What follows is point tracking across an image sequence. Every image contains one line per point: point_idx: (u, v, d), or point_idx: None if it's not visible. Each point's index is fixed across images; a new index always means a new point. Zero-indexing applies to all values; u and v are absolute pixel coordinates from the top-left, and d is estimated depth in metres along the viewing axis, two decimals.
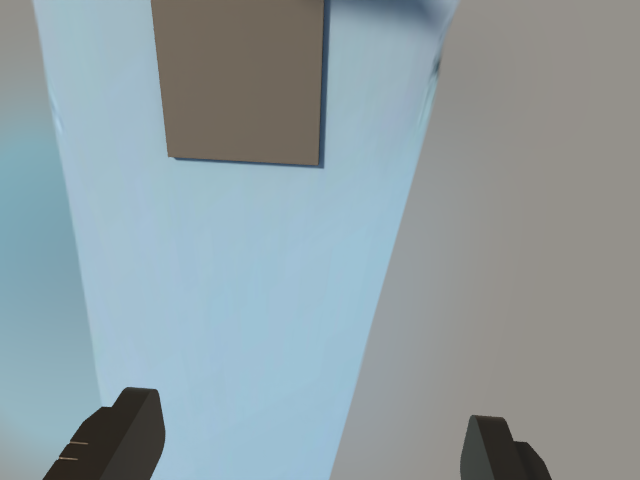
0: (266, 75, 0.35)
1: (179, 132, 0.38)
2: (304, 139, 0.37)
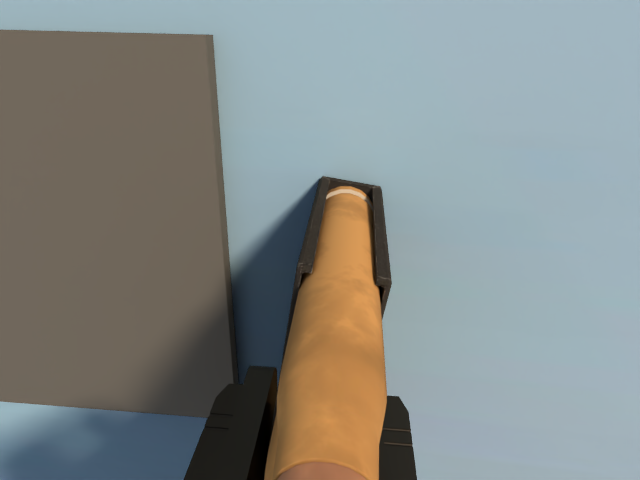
0: None
1: None
2: None
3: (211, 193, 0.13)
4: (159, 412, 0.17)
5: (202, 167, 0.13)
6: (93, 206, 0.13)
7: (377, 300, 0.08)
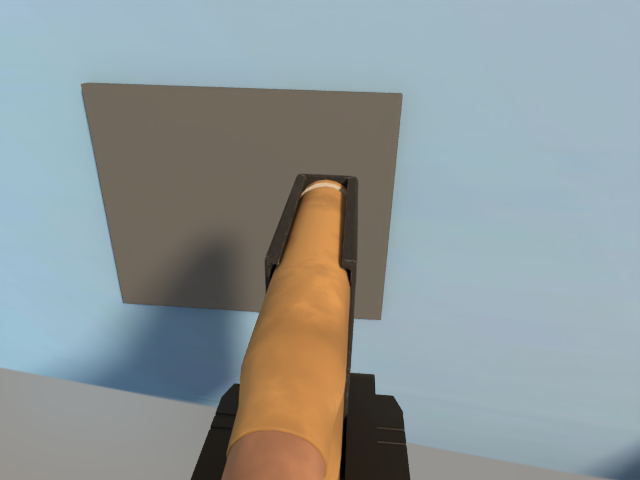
0: (229, 247, 0.26)
1: (126, 110, 0.23)
2: (154, 288, 0.27)
3: (390, 177, 0.23)
4: None
5: (388, 163, 0.23)
6: None
7: (342, 282, 0.09)
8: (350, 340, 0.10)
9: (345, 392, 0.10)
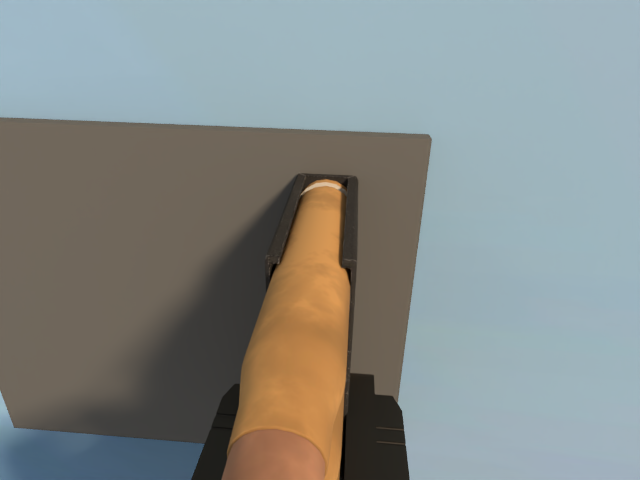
0: (160, 359, 0.17)
1: None
2: (55, 411, 0.19)
3: (408, 267, 0.14)
4: None
5: (405, 245, 0.14)
6: None
7: (343, 281, 0.09)
8: (350, 339, 0.10)
9: (345, 391, 0.10)
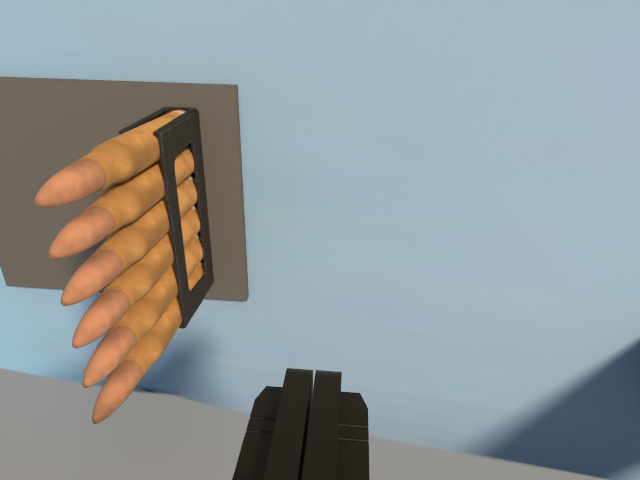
0: None
1: None
2: (33, 272, 0.29)
3: (235, 165, 0.25)
4: None
5: (231, 151, 0.24)
6: None
7: (151, 139, 0.19)
8: (164, 174, 0.20)
9: (167, 205, 0.20)
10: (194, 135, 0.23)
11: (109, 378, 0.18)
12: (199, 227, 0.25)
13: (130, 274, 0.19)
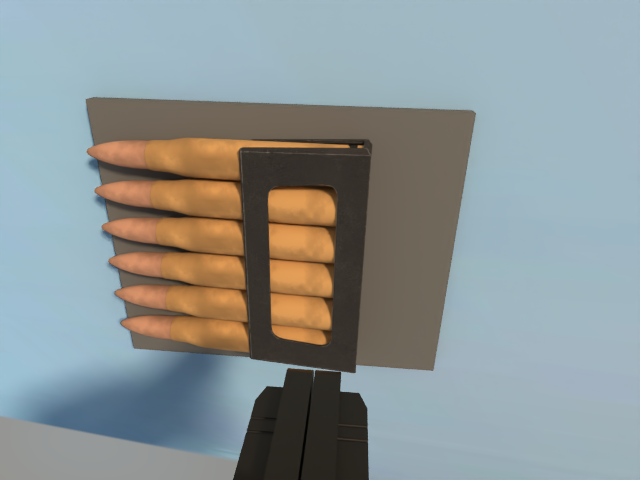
0: None
1: (139, 130, 0.19)
2: None
3: (454, 210, 0.19)
4: (376, 365, 0.23)
5: (452, 193, 0.19)
6: (370, 218, 0.20)
7: (231, 153, 0.18)
8: (241, 195, 0.18)
9: (243, 227, 0.19)
10: (343, 180, 0.17)
11: (156, 315, 0.23)
12: (330, 291, 0.19)
13: (184, 256, 0.20)
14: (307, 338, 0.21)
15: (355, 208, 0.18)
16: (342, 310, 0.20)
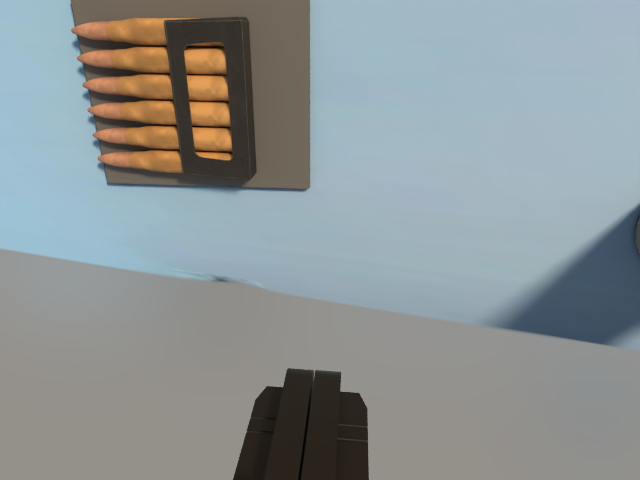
0: None
1: (104, 17, 0.30)
2: (131, 169, 0.35)
3: (306, 66, 0.31)
4: (271, 187, 0.35)
5: (303, 54, 0.31)
6: (254, 74, 0.31)
7: (160, 24, 0.29)
8: (167, 52, 0.29)
9: (170, 75, 0.30)
10: (227, 38, 0.29)
11: (121, 152, 0.34)
12: (228, 118, 0.31)
13: (136, 102, 0.32)
14: (218, 157, 0.32)
15: (236, 57, 0.29)
16: (237, 132, 0.31)
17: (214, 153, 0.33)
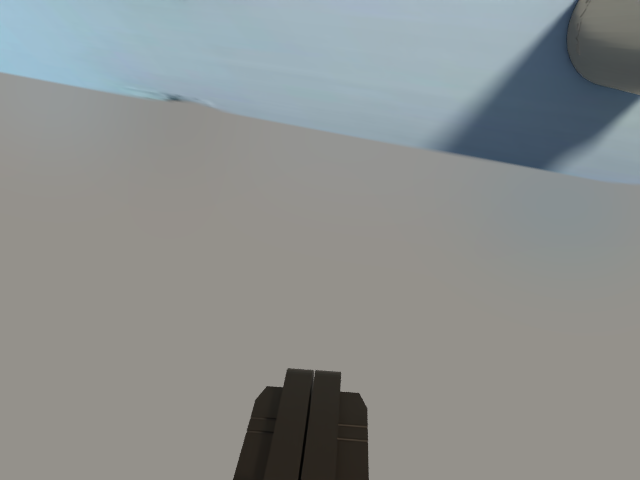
0: None
1: None
2: None
3: None
4: None
5: None
6: None
7: None
8: None
9: None
10: None
11: None
12: None
13: None
14: None
15: None
16: None
17: None
